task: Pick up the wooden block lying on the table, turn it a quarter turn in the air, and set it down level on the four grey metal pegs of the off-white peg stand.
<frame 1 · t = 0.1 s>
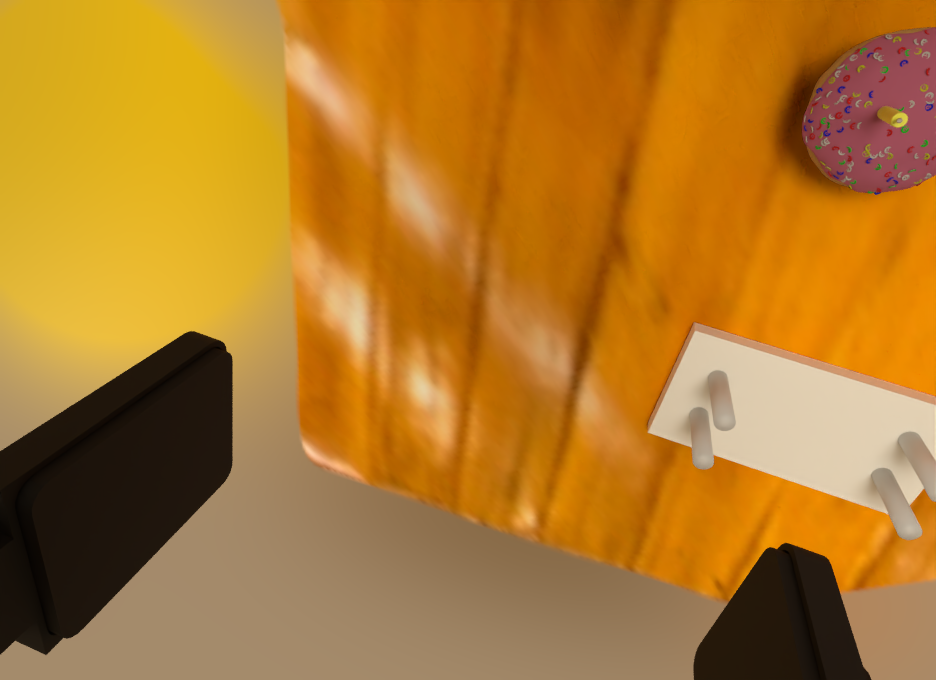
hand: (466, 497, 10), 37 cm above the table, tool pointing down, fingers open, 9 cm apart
peg stand: (795, 415, 47), on the table
cupcake: (867, 104, 36), on the table
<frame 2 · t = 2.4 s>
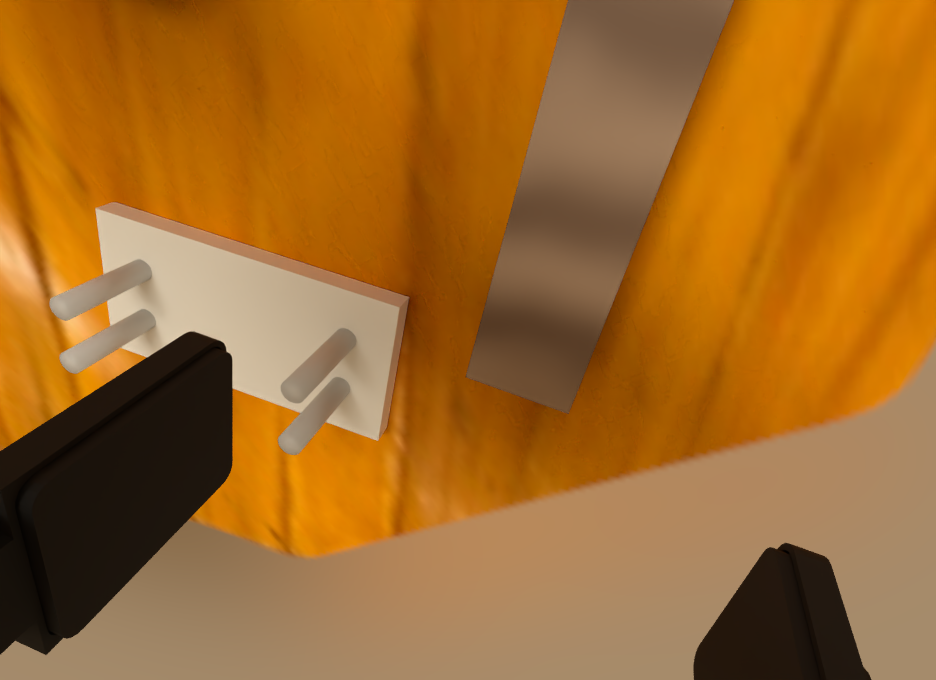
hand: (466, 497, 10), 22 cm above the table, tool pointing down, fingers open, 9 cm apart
peg stand: (254, 318, 39), on the table
wooden block: (590, 182, 29), on the table
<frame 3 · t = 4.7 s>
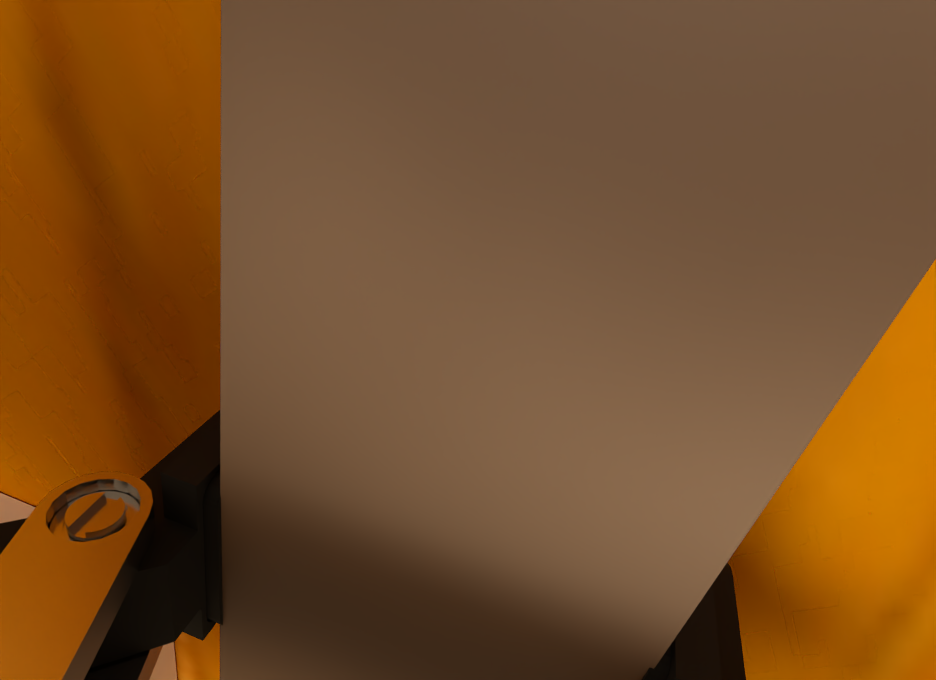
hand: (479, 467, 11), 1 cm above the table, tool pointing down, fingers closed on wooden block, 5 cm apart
wooden block: (499, 416, 12), on the table, touching gripper
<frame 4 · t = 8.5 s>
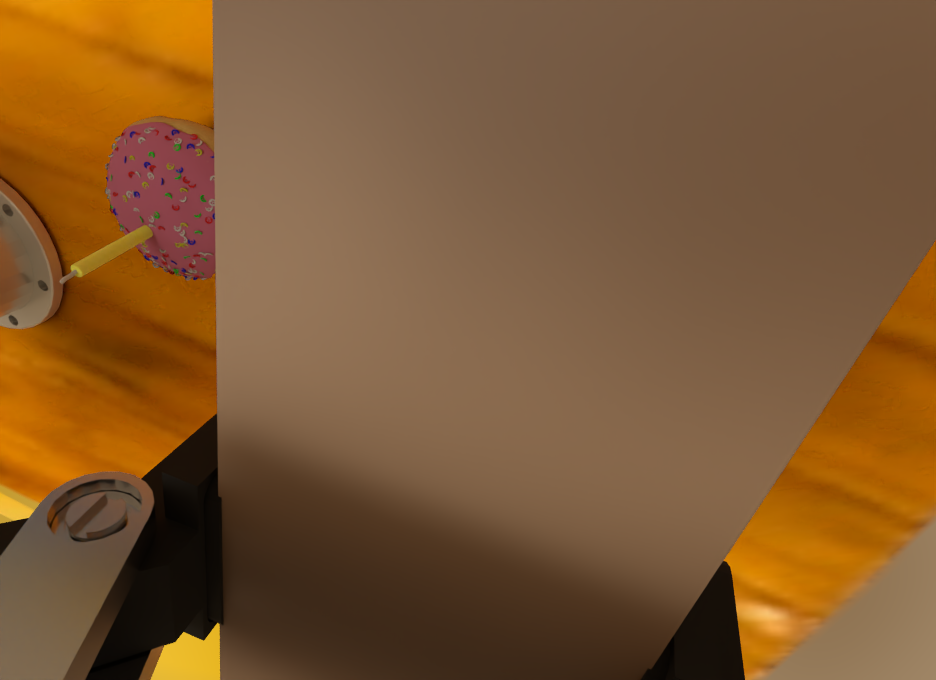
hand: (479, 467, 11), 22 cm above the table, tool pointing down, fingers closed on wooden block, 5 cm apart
cupcake: (236, 181, 36), on the table
wooden block: (499, 416, 12), point 21 cm above the table, touching gripper
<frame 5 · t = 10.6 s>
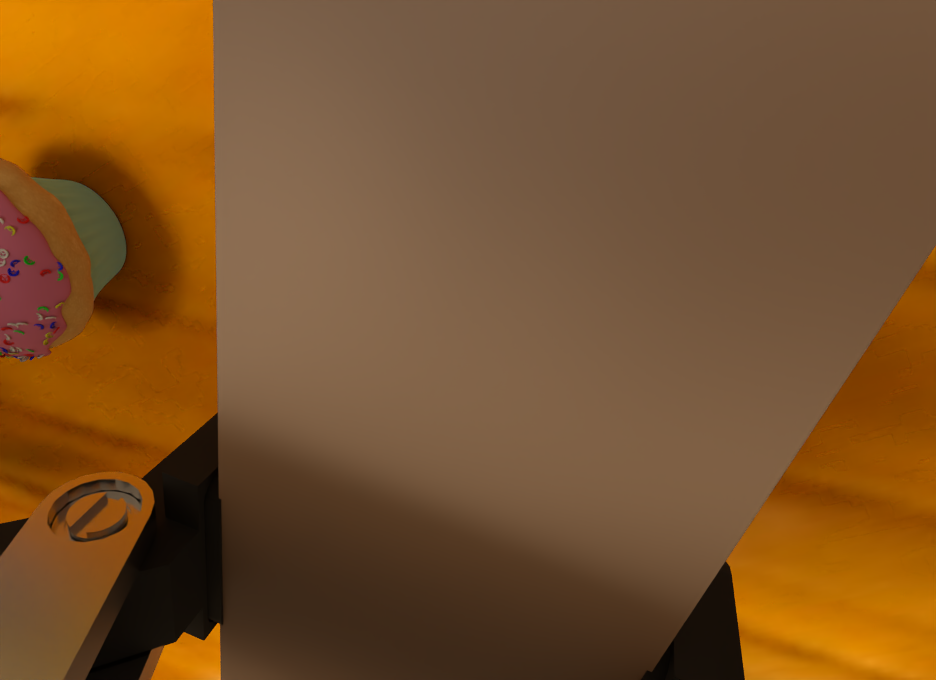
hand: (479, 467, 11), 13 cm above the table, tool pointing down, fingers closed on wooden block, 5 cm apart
cupcake: (85, 226, 28), on the table
wooden block: (499, 417, 12), point 12 cm above the table, touching gripper
when the fingers open (10 cm above the table, at t = 12.4 s): wooden block drops 1 cm, resting on peg stand.
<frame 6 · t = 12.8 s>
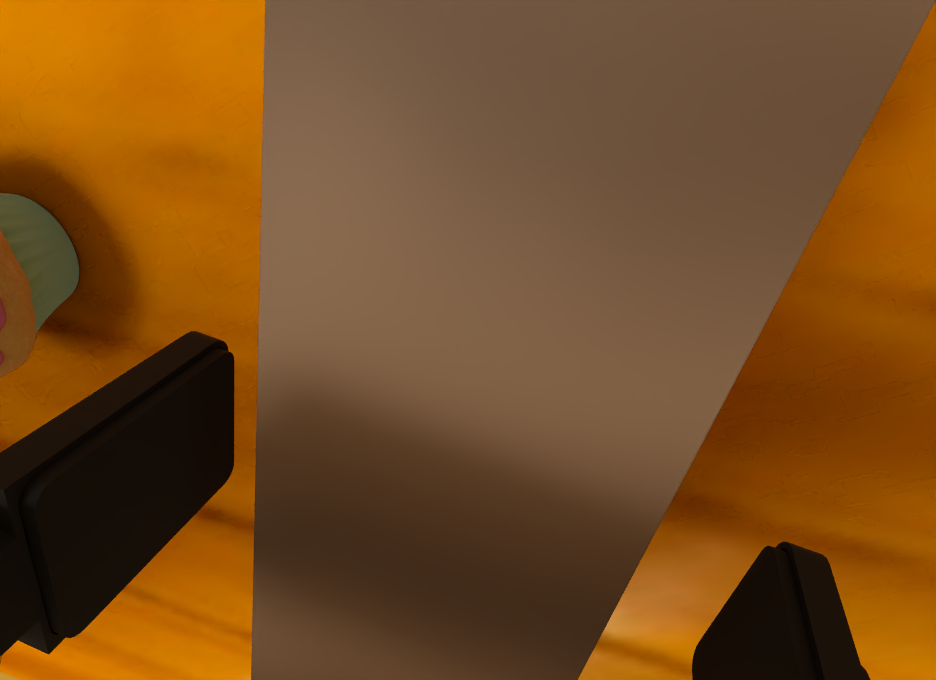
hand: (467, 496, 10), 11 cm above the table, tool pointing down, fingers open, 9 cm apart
cupcake: (35, 244, 26), on the table
wooden block: (500, 385, 13), point 7 cm above the table, touching peg stand
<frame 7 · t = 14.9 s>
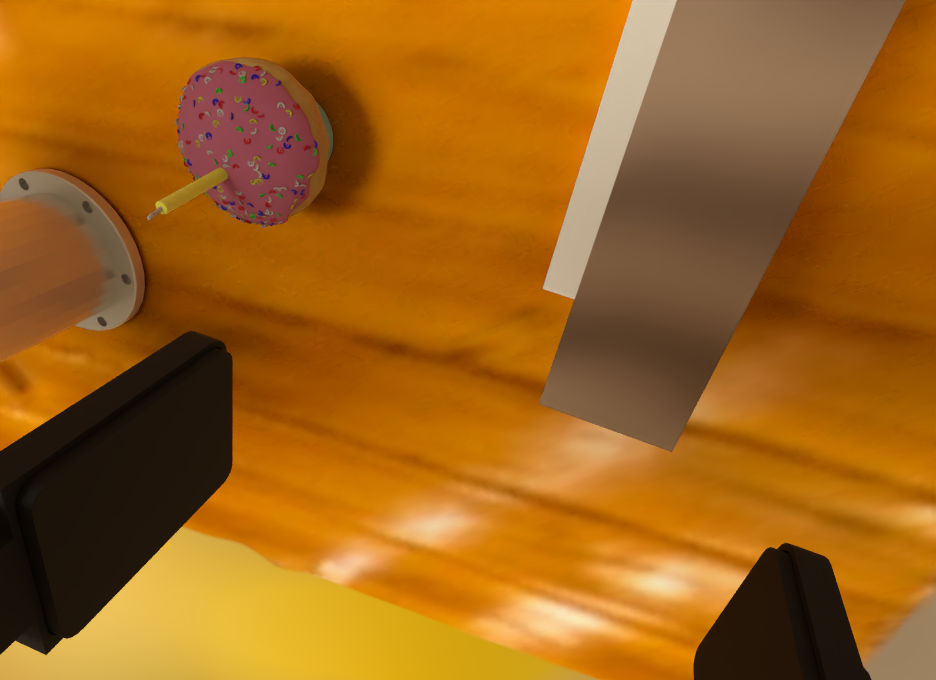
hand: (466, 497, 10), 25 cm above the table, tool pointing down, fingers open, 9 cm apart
peg stand: (700, 131, 29), on the table
cupcake: (298, 130, 36), on the table
wooden block: (701, 156, 23), point 7 cm above the table, touching peg stand
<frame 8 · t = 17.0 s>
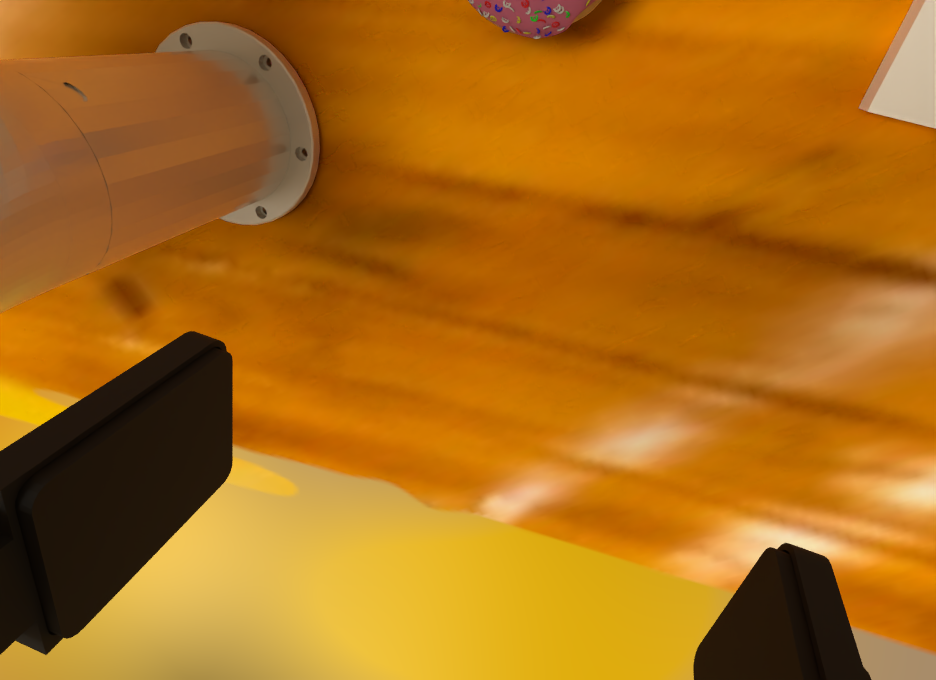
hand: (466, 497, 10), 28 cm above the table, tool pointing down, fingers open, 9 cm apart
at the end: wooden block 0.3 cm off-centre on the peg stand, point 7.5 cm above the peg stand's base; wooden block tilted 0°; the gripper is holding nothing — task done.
